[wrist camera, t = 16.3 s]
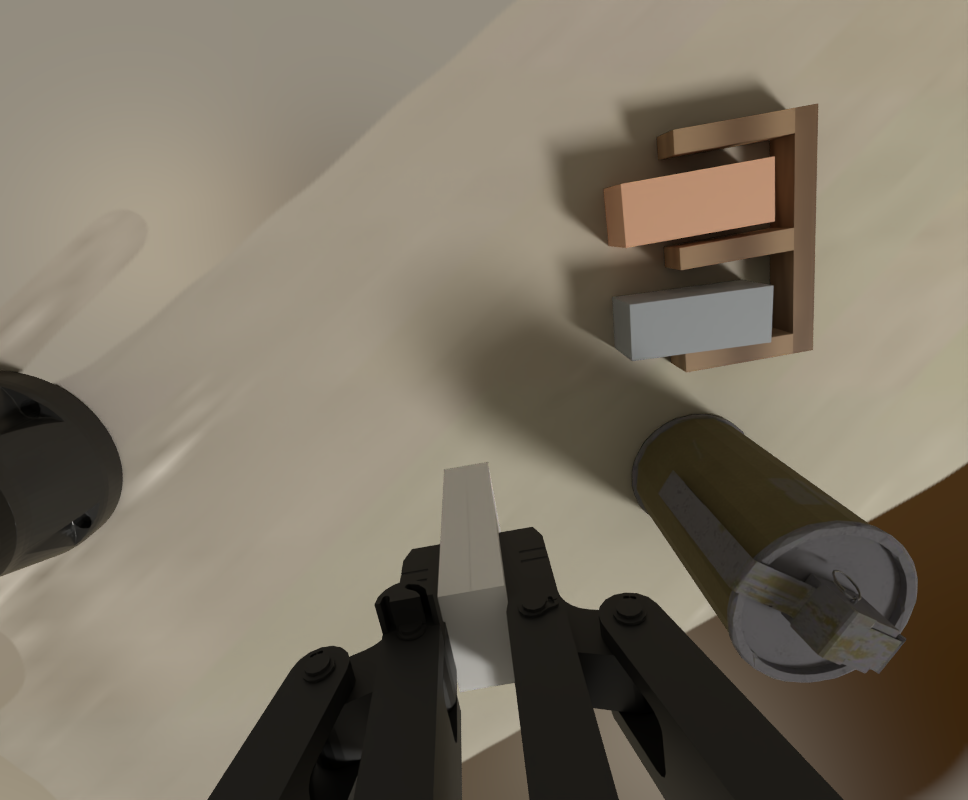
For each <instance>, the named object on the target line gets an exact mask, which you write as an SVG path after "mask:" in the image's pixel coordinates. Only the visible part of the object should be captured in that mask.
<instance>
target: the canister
mask: <svg viewBox="0 0 968 800" xmlns="http://www.w3.org/2000/svg"><path fill="white" fill-rule="evenodd" d="M632 471H633V479H632V487H633V490H634V494H635V497H636V499H637V501H638V503H639V504H640V506H641V507H642V508H643V510H644V511H645V512H646V513H647V514H649V515H650V516H651V518H652V519H653V521H654V522H655V524H656V525H657V526H658V528H659V529H660V531H661V532H662V534H663V535H664V537H665V538H666V540H667V541H668V543H669V544H670V546H671V547H672V549H673V550H674V552H675V553H676V555H677V556H678V558H679V559H680V561H681V562H682V564H683V565H684V567H685V568H686V570H687V571H688V573H689V574H690V576H691V577H692V579H693V580H694V582H695V583H696V585H697V586H698V587H699V589H700V590H701V592H702V593H703V595H704V596H705V598H706V599H707V601H708V602H709V604H710V605H711V607H712V608H713V610H714V611H715V613H716V614H717V616H718V617H719V619H720V620H721V622H722V623H723V624H724V626H725V628H726V629H727V630H728V632H729V636H730V638H731V641H732V643H733V645H734V647H735V649H736V650H737V652H738V653H739V655H740V656H741V658H743V659H744V660H745V661H746V662H747V663H748V664H750V665H751V666H752V667H753V668H754V669H756V670H758V671H760V672H762V673H764V674H766V675H767V676H769V677H771V678H774V679H778V680H782V681H789V682H816V681H822V680H828V679H833V678H837V677H840V676H842V675H844V674H847V673H849V672H851V671H853V670H858V671H861V672H864V673H866V672H867V671H868V670H869V669H871V670H874V671H875V672H877V673H880V672H881V670H882V669H883V668H884V667H885V665H886V664H887V663H888V662H889V661H890V659H891V658H892V657H893V656H894V654H895V653H896V652H897V651H898V650H899V648H900V647H901V646H902V645H903V643H904V642H905V641H906V638H904V637H903V636H902V635H900V633H901V632H902V630H903V628H904V627H905V625H906V624H907V622H908V620H909V617H910V615H911V612H912V610H913V607H914V605H915V602H916V596H917V574H916V570H915V566H914V562H913V561H912V559H911V557H910V556H909V554H908V552H907V551H906V549H905V548H904V546H903V545H902V544H901V543H900V542H898V541H897V540H896V539H895V538H894V537H892V536H891V535H890V534H888V533H886V532H884V531H883V530H881V529H879V528H877V527H875V526H872V525H870V524H868V523H867V522H866V521H864V520H863V519H861V518H860V517H859V516H857V515H856V514H854V513H853V512H852V511H850V510H849V509H847V508H846V507H845V506H843V505H842V504H840V503H839V502H838V501H836V500H835V499H833V498H832V497H831V496H829V495H828V494H826V493H825V492H824V491H822V490H821V489H819V488H818V487H817V486H815V485H814V484H812V483H811V482H810V481H808V480H807V479H805V478H804V477H802V476H801V475H800V474H798V473H797V472H795V471H794V470H793V469H791V468H790V467H788V466H787V465H786V464H784V463H783V462H781V461H780V460H779V459H777V458H776V457H774V456H773V455H772V454H770V453H769V452H767V451H766V450H765V449H763V448H762V447H760V446H759V445H758V444H756V443H755V442H753V441H752V440H751V439H749V438H748V437H746V436H745V435H744V433H743V431H741V430H740V429H739V428H738V427H737V426H735V425H734V424H733V423H731V422H729V421H727V420H725V419H723V418H721V417H717V416H713V415H707V414H697V415H689V416H685V417H681V418H677V419H675V420H673V421H670V422H668V423H666V424H664V425H663V426H662V427H660V428H659V429H657V430H656V431H655V432H654V433H653V434H652V435H651V436H650V437H649V438H648V439H647V440H646V441H645V442H644V444H643V445H642V447H641V449H640V451H639V452H638V455H637V457H636V459H635V462H634V465H633V470H632Z"/></svg>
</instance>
